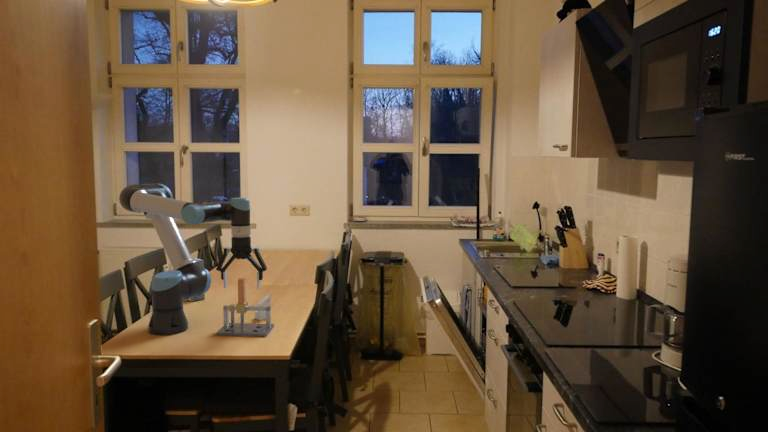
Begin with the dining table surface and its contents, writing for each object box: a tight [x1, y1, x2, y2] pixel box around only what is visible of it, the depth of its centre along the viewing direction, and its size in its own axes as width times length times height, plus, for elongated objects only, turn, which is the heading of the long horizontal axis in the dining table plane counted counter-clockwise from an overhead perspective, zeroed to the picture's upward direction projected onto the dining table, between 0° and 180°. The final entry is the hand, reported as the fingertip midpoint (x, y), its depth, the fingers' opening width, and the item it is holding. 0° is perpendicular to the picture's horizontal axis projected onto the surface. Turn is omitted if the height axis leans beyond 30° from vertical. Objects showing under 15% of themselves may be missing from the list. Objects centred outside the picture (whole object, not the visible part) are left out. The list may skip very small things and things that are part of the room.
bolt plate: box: [215, 322, 275, 338], centre depth 222 cm, size 20×13×1 cm, turn 88°
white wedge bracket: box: [254, 294, 272, 321], centre depth 241 cm, size 4×10×9 cm
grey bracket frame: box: [223, 303, 272, 328], centre depth 224 cm, size 19×2×9 cm, turn 88°
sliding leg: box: [235, 277, 249, 326], centre depth 223 cm, size 4×4×20 cm
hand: (242, 287), depth 222 cm, fingers open, 13 cm apart
